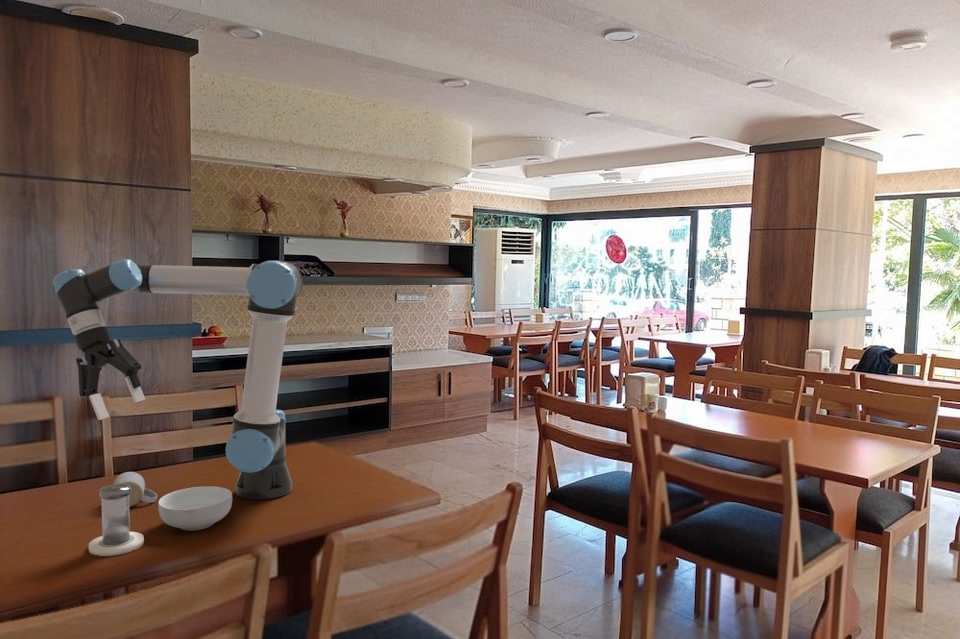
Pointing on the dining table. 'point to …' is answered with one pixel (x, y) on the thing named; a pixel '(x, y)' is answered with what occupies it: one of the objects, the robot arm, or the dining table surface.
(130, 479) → the ceramic mug
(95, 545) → the round white coaster
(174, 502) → the cereal bowl
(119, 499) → the lidded glass jar
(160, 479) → the dining table surface
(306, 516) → the dining table surface
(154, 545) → the dining table surface
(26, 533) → the dining table surface
